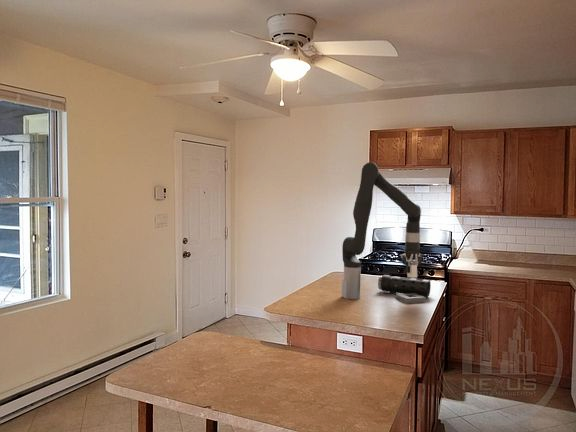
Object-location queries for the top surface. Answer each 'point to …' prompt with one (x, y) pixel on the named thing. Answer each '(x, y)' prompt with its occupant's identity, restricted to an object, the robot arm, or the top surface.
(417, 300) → the outlet block
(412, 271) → the plug
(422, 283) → the muzzle brake
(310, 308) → the top surface
